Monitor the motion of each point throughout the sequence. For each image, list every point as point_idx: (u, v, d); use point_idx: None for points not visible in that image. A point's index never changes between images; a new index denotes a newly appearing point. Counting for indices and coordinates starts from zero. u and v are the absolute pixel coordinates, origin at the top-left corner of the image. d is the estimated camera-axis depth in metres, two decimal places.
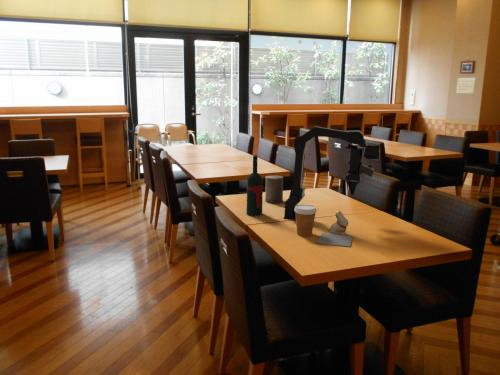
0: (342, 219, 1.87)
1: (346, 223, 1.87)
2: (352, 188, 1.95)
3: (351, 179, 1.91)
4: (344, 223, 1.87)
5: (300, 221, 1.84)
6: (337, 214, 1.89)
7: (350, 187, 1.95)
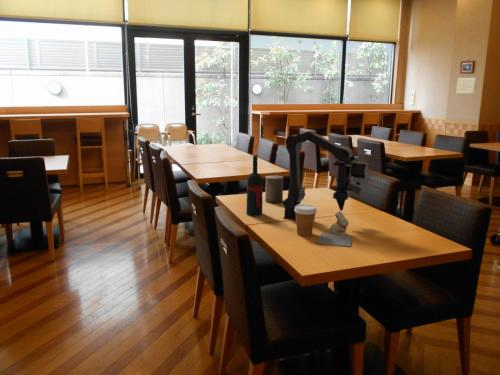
0: (342, 219, 1.87)
1: (346, 223, 1.87)
2: (341, 204, 1.97)
3: (338, 197, 1.88)
4: (344, 223, 1.87)
5: (300, 221, 1.84)
6: (337, 214, 1.89)
7: (339, 203, 1.97)
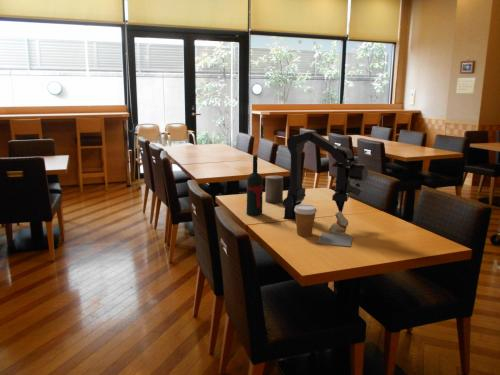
0: (342, 219, 1.87)
1: (346, 223, 1.87)
2: (340, 206, 1.93)
3: (338, 199, 1.85)
4: (344, 223, 1.87)
5: (300, 221, 1.84)
6: (337, 214, 1.89)
7: (338, 205, 1.93)
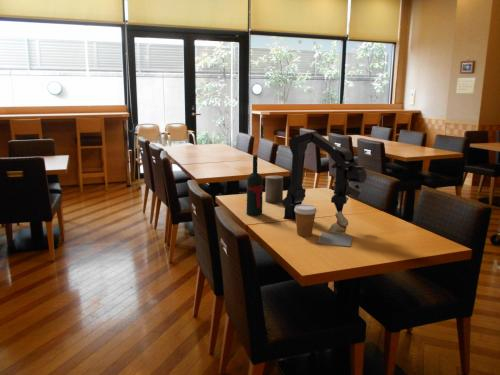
0: (342, 219, 1.87)
1: (346, 223, 1.87)
2: (339, 208, 1.89)
3: (337, 201, 1.81)
4: (344, 223, 1.87)
5: (300, 221, 1.84)
6: (337, 214, 1.89)
7: (337, 207, 1.89)
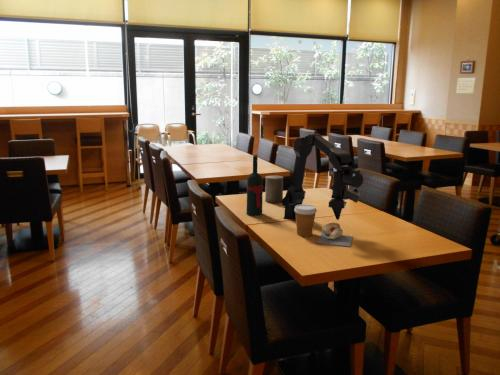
0: (338, 237, 1.82)
1: None
2: (337, 212, 1.82)
3: (334, 206, 1.74)
4: None
5: (300, 221, 1.84)
6: None
7: (335, 211, 1.82)
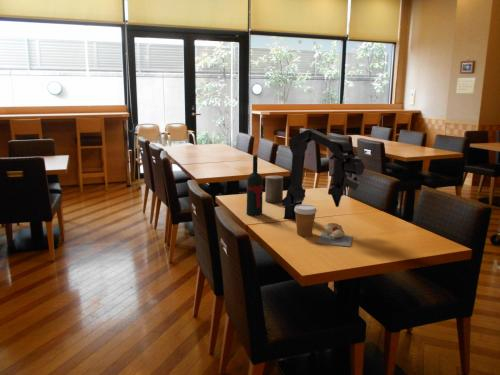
0: (339, 237, 1.82)
1: None
2: (336, 200, 1.87)
3: (334, 193, 1.79)
4: None
5: (300, 221, 1.84)
6: (332, 237, 1.81)
7: (334, 199, 1.87)
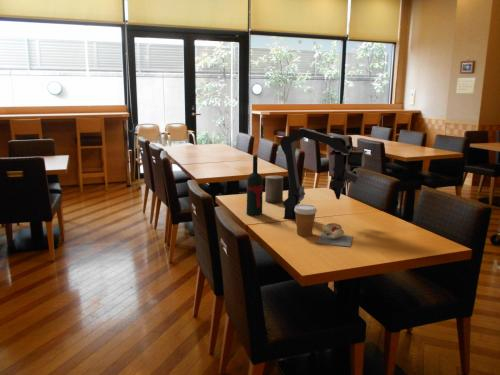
0: (339, 237, 1.82)
1: None
2: (337, 192, 1.98)
3: (335, 186, 1.90)
4: None
5: (300, 221, 1.84)
6: None
7: (335, 191, 1.98)
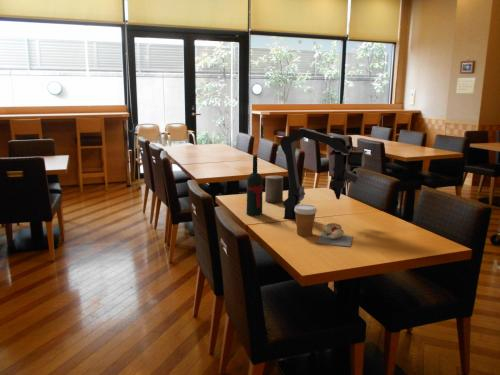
0: (339, 237, 1.82)
1: None
2: (337, 192, 1.98)
3: (335, 186, 1.90)
4: None
5: (300, 221, 1.84)
6: None
7: (335, 191, 1.98)
